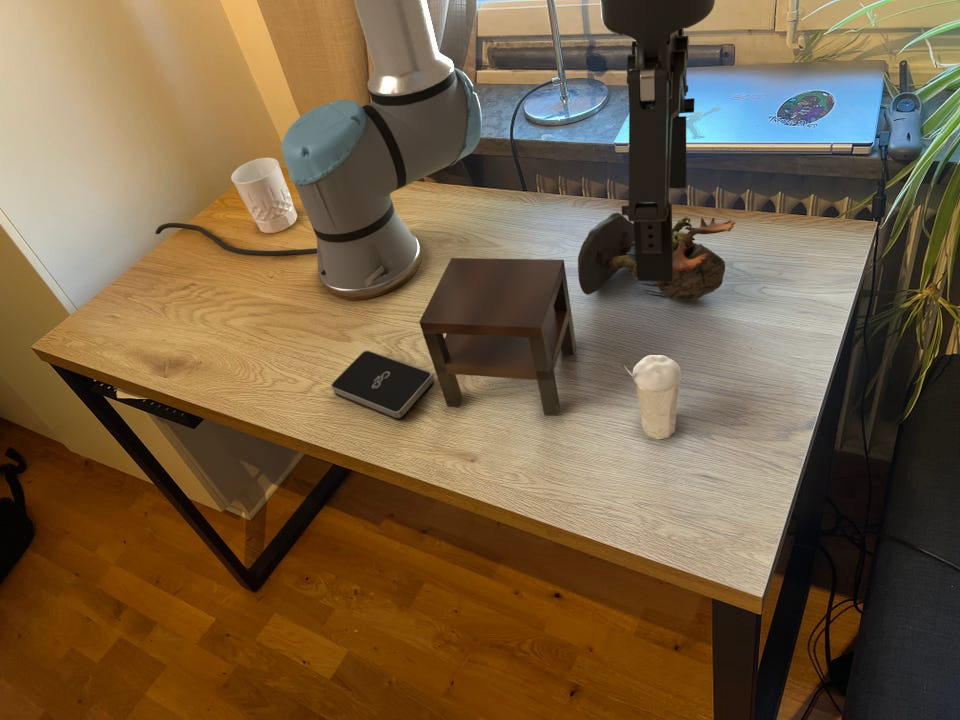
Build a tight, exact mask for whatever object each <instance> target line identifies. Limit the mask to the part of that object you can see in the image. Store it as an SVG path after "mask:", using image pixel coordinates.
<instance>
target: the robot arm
mask: <svg viewBox="0 0 960 720" xmlns="http://www.w3.org/2000/svg"><path fill="white" fill-rule="evenodd" d="M715 2H716V0H599V3H600V5H599V6H600V17H601V22H602V24H603V26H604V27H605V28H606V29H607V30H608V31H609V32H611V33H613V34H616V35H620V36H622V35H624V36H627V37H630V38H632V39H633V40H632V41H631V54H627V58H626V84H627V86H628V87H627V90H628V205H621V215H622V216H627V220H628V221H630V222H631V223H633V224H634V239H635V255H636V271H637V278H636V281H637V282H652V281H672V280H673V241H672V228H673V204H672V203H671V202H670V189H686V188H687V115H684V116H683V115H681V116H680V114H692V113H695V97H694V98H693V97H691V98H686V97H687V93H688V92H689V85H688V84H687V83H688V81H687V80H688V79H687V68H688V59H689V50H690V49H689V48H690V47H689V46H690V38H689V37H690V36H689V35H685V29H689V28H691V27H693V26H695V25H696V24H699V23H700V22H702V21H704V20H705V19H706V18H707V17H708V16H709V15H710V14H711V13H712V11H713V9H714V7H715ZM353 3H354V6H355V10H356V12H357V16H358V19H359V23H360V26H361V29H362V32H363V36H364V39H365V43H366V46H367V50H368V52H369V56H370V59H371V62H372V66H373V71H372V73H371V75H370V77H369V78H368V80H367V89H368V92H369V95H370V99H371V102H369V103H366V104H365V105H363V106H362V105H361V104H360V103H359V102H357V101H355V100H352V99H337V100H335V101H334V102H325V103H324V104H320V105H319V106H316V107H314V108H312V109H310V110H309V111H307V112H306V113H304V114H302V115H301V116H300V117H299V118H297V119H296V120H295V121H294V122H293V123H292V124H290V126H289V127H288V129H287V131H286V133H285V134H284V135H283V137H282V141H281V153H282V157H283V159H284V162H285V165H286V168H287V172H288V177H289V179H290V180H291V182H292V183H293V185H294V187H295V189H296V192H297V194H298V196H299V199H300V201H301V203H302V206H303V208H304V211H305V214H306V215H307V218H308V220H309V222H310V226H311V227H312V230H313V232H314V234H315V237H316V247H314V248H302V249H284V250H283V249H281V250H257V249H245V248H244V249H243V248H238V247H234V246H231V245H228V244H226V243H225V242H223V241H222V240H221V239H220V238H218V237H217V236H216V235H214V234H213V233H211V232H209V231H208V230H206V229H205V228H204V227H201V226H199V225H196V224H189V223H180V222H167V223H163V224H161V225H159V226H157V228H156V230H155V232H154V234H155V235H160V234H161V233H162V231H164V230H165V229H186V230H193V231H197V232H199V233H201V234H202V235H204V236H205V237H207V238H209V239H210V240H212V241H213V242H214V243H216V244H217V245H218V247H220V248H221V249H224V250H226V251H228V252H229V253H230V252H231V253H234V254H238V255H245V256H258V257H259V256H260V257H279V256H280V257H281V256H282V257H283V256H284V257H285V256H302V255H317V274H318V277H319V279H320V281H321V283H322V285H323V288H324V289H325V290H326V292H327V293H329V294H330V295H331V296H333V297H336V298H338V299H343V300H351V301H352V300H353V301H354V300H365V299H366V300H367V299H371V298H376V297H378V296H382V295H384V294H387V293H389V292H391V291H394V290H396V289H397V288H399V287H401V286H402V285H403V284H405V283H407V282H408V280H410V279H411V278H412V277H413V276H414V275H415V274H416V272H417V271H418V269H419V267H420V265H421V263H422V258H423V256H422V255H423V254H422V251H421V248H420V247H421V246H420V244H419V241H418V239H417V237H416V236H415V235H414V234H413V232H412V231H410V228H408V226H407V225H406V223H405V222H404V220H403V219H402V217H401V216H400V215H399V213H397V211H396V209H395V207H394V204H393V200H392V197H391V194H393V192H395V191H397V190H400V189H402V188H404V187H407V186H408V185H410V184H413V183H414V182H417V181H419V180H421V179H423V178H426V177H427V176H430V175H431V174H434V173H436V172H438V171H440V170H442V169H444V168H446V167H451V166H453V165H455V164H456V163H458V161H459V160H461V159H463V158H465V157H467V156H469V155H470V154H472V153H473V152H474V150H476V148H477V147H478V145H479V143H480V141H481V136H482V131H483V119H482V118H483V116H482V110H481V105H480V101H479V97H478V93H475V92H474V85H473V83H472V81H471V80H470V78H469V76H468V75H467V74H466V73H465V72H464V71H462V70H460V69H458V68H456V67H455V65H454V63H453V60H452V59H450V58H449V57H447V56H446V55H444V54H442V53H441V52H439V49H438V45H437V40H436V37H435V32H434V28H433V24H432V19H431V15H430V11H429V7H428V6H429V5H428V3H427V0H353Z"/></svg>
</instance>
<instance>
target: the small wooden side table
mask: <svg viewBox="0 0 960 720" xmlns="http://www.w3.org/2000/svg"><path fill="white" fill-rule="evenodd" d="M566 273H567V272H566V266H565V260H564V259H563V258H561V259H560V258H488V257H487V258H485V257H484V258H482V257H480V258H479V257H451V258H450V260H449V261H448V264H447V266H446V268H445V270H444V272H443V274H442V276H441V278H440V280H439V281H438V284H437V286H436V288H435V289H434V292H433V293H432V295H431V298H430V299H429V302H428V304H427V305H426V308H425V310H424V312H423V314H422V315H421V318H420V320H419V322H418V323H419V326H420V329H421V332H422V335H423V338H424V341H425V344H426V347H427V350H428V354H429V356H430V358H431V362H432V365H433V367H434V370H435V371H434V372H435V374H436V377H437V379H438V382H439V386H440V389H441V392H442V395H443V397H444V401H445V403H446V406H447V407H452V408H460V406H461V403H462V401H463V400H464V399H463V398H464V397H463V394H462V390H461V387H460V385H459V381H458V378H457V375H459V376H460V375H461V376H475V377H487V378H489V377H490V378H500V379H501V378H502V379H504V378H505V379H515V380H516V379H517V380H531V381H537V387H538V392H539V396H540V400H541V407H542V411H543V415H544V416H555V417H557V416H558V414H559V411H560V407H561V404H560V399H559V394H558V393H559V392H558V386H557V382H556V376H555V368H556V365H557V361H558V358H559V355H560V352H561V355H562V356H575V352H576V349H577V343H576V337H575V329H574V321H573V316H572V315H573V314H572V307H571V300H570V294H569V293H570V292H569V287H568V279H567V274H566ZM444 335H445V336H444Z"/></svg>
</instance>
